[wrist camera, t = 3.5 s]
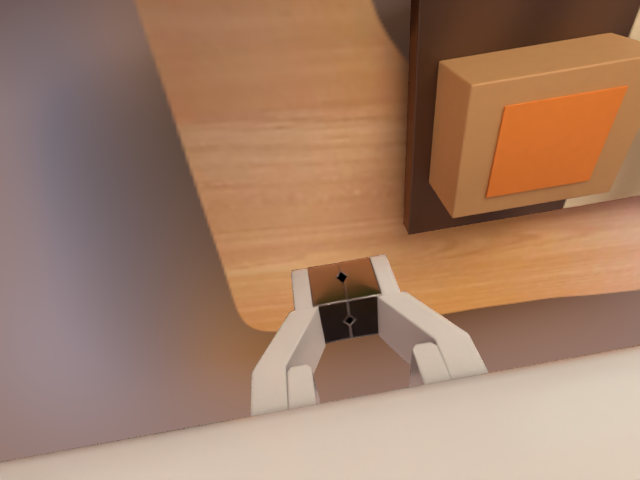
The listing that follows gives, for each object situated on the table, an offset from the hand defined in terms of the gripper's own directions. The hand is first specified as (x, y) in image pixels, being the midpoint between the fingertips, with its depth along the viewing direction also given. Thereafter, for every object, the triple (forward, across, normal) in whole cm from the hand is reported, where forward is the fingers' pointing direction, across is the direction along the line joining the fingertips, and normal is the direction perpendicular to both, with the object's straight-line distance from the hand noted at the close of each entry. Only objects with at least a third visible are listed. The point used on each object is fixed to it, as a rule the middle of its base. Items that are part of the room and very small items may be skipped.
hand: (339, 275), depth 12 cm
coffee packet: (+9, -10, 0) cm, 14 cm away
